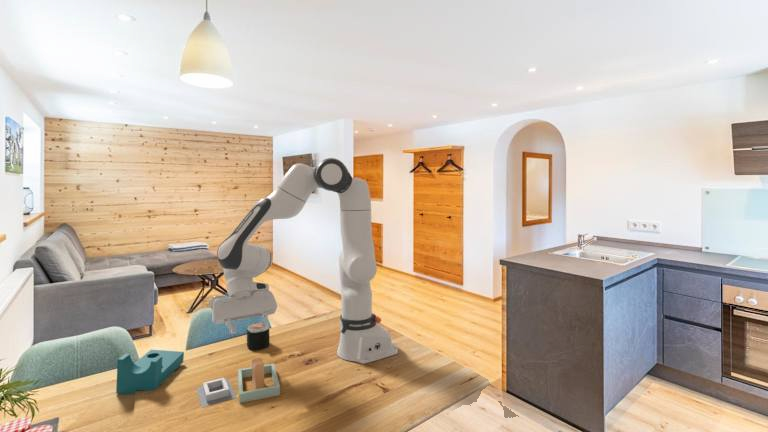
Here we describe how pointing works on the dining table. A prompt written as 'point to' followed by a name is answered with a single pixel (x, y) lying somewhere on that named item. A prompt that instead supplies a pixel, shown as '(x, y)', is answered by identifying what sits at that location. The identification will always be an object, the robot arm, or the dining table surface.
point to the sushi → (257, 337)
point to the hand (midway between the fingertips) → (249, 329)
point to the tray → (260, 392)
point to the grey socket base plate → (215, 392)
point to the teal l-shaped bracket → (146, 370)
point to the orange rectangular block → (258, 373)
